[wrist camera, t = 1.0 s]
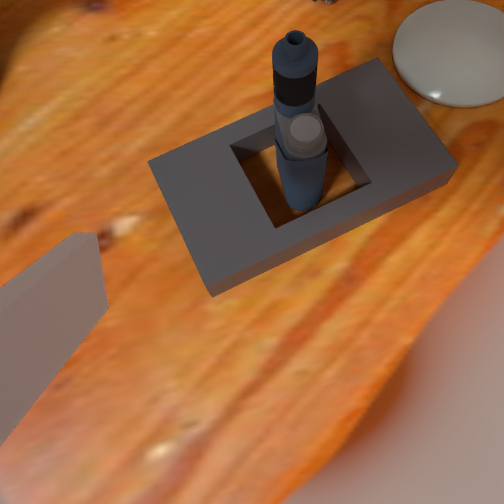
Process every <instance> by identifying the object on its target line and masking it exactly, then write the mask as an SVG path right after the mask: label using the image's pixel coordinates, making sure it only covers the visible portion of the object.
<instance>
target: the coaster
mask: <svg viewBox="0 0 504 504" xmlns="http://www.w3.org/2000/svg"><path fill="white" fill-rule="evenodd" d="M392 55H393V62H394V65H395V68H396V70H397V72H398V74H399V76H400V77H401V79H402V80H403V81H404V83H405V84H406V85H407V86H408V87H409V88H410V89H412V90H413V91H414V92H415V93H417V94H418V95H420V96H421V97H423V98H425V99H427V100H429V101H432V102H434V103H437V104H440V105H444V106H449V107H455V108H474V107H481V106H485V105H489V104H492V103H494V102H497V101H499V100H501V99H503V98H504V13H503V12H502V11H500V10H498V9H496V8H494V7H492V6H490V5H487V4H484V3H481V2H477V1H472V0H442V1H437V2H433V3H430V4H428V5H425V6H423V7H421V8H419V9H417V10H416V11H414V12H413V13H411V14H410V15H409V16H408V17H407V18H406V19H405V20H404V21H403V22H402V24H401V25H400V27H399V28H398V30H397V33H396V35H395V39H394V43H393V49H392Z"/></svg>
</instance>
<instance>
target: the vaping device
mask: <svg viewBox="0 0 504 504" xmlns="http://www.w3.org/2000/svg"><path fill="white" fill-rule="evenodd" d="M272 63H273V83H274V86H275V87H274V99H273V103H274V115H275V135H276V139H274V140H275V146H276V155H277V167H278V170H279V174H280V178H281V182H282V186H283V190H284V194H285V199H286V202H287V204H288V206H289V207H291V208H292V209H294V210H297V211H305V210H309V209H311V208H313V207H314V206H315V205H317V204H318V202H319V201H320V200H321V197H322V192H323V185H324V178H325V170H326V163H327V156H328V149H327V148H326V144H327V137H326V134H325V131H324V126H323V123H322V121H321V117H320V114H319V111H318V108H317V104H316V101H315V90H316V88H315V87H316V77H317V64H318V48H317V46H316V44H315V43H314V42H313V41H312V40H311V39H309V38H308V37H306V36H305V34H304V33H303V32H301V31H297V30H294V31H290V32H289V33H287V34H286V36H285V37H284V38H282V39H281V40H279V41H278V42H277V43H276V44H275V46H274V48H273V51H272ZM274 68H275V69H274Z"/></svg>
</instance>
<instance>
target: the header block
mask: <svg viewBox="0 0 504 504" xmlns="http://www.w3.org/2000/svg"><path fill="white" fill-rule="evenodd" d="M315 88H316V90H315V101H316V104H317V108H318V111H319V114H320V117H321V121H322V123H323V126H324V131H325V134H326V137H327V140H328V141H329V143H330V144H331V146H332V147H333V149H334V150H335V152H336V154H337V155H338V157H339V158H340V160H341V161H342V163H343V164H344V166H345V167H346V169H347V171H348V172H349V174H350V175H351V177H352V178H353V180H354V181H355V183H356V185H357V186H358V188H359V189H357V190H355V191H353V192H351V193H349V194H347V195H345V196H343V197H341V198H339V199H337V200H334V201H332V202H330V203H328V204H326V205H324V206H322V207H320V208H318V209H316V210H313V211H311V212H309V213H307V214H305V215H303V216H301V217H299V218H297V219H295V220H293V221H290V222H288V223H286V224H284V225H282V226H280V227H278V228H276V229H275V227H274V226H273V224H272V222H271V220H270V218H269V217H268V215H267V213H266V211H265V209H264V207H263V206H262V204H261V202H260V200H259V198H258V197H257V195H256V193H255V191H254V189H253V187H252V186H251V184H250V182H249V180H248V178H247V177H246V175H245V173H244V171H243V169H242V167H241V166H240V164H239V162H238V161H240V160H243V159H245V158H247V157H249V156H251V155H253V154H256V153H258V152H260V151H262V150H264V149H267V148H269V147H271V146H273V145H275V140H274V139H276V135H275V115H274V104H273V105H271V106H269V107H267V108H264V109H262V110H260V111H258V112H256V113H253V114H251V115H249V116H247V117H245V118H242V119H240V120H238V121H236V122H233V123H231V124H229V125H227V126H225V127H222V128H220V129H218V130H216V131H214V132H211V133H209V134H207V135H205V136H202V137H200V138H198V139H196V140H194V141H191V142H189V143H187V144H185V145H183V146H180V147H178V148H176V149H174V150H172V151H169V152H167V153H165V154H163V155H160V156H158V157H156V158H154V159H152V160H149V161H147V162H148V164H149V166H150V168H151V170H152V172H153V175H154V177H155V179H156V181H157V183H158V185H159V187H160V190H161V192H162V194H163V196H164V198H165V200H166V202H167V205H168V207H169V209H170V211H171V213H172V215H173V217H174V220H175V222H176V224H177V226H178V228H179V230H180V233H181V235H182V237H183V239H184V241H185V243H186V245H187V248H188V250H189V252H190V254H191V256H192V258H193V260H194V263H195V265H196V267H197V269H198V271H199V273H200V276H201V278H202V280H203V282H204V284H205V286H206V288H207V290H208V291H209V293H210V295H211V296H212V297H214V296H216V295H218V294H220V293H222V292H225V291H227V290H229V289H231V288H233V287H235V286H237V285H239V284H241V283H243V282H245V281H247V280H249V279H251V278H253V277H255V276H258V275H260V274H262V273H264V272H266V271H268V270H270V269H272V268H274V267H276V266H278V265H280V264H282V263H284V262H286V261H288V260H291V259H293V258H295V257H297V256H299V255H301V254H303V253H305V252H307V251H309V250H311V249H313V248H315V247H317V246H319V245H321V244H324V243H326V242H328V241H330V240H332V239H334V238H336V237H338V236H340V235H342V234H344V233H346V232H348V231H350V230H352V229H354V228H356V227H359V226H361V225H363V224H365V223H367V222H369V221H371V220H373V219H375V218H377V217H379V216H381V215H383V214H385V213H387V212H389V211H392V210H394V209H396V208H398V207H400V206H402V205H404V204H406V203H408V202H410V201H412V200H414V199H416V198H418V197H420V196H422V195H425V194H427V193H429V192H431V191H433V190H435V189H437V188H439V187H441V186H443V185H445V184H447V183H448V181H449V180H450V178H451V177H452V175H453V174H454V172H455V170H456V169H457V167H458V166H459V164H458V163H457V162H456V160H455V159H454V158H453V156H452V155H451V154H450V152H449V151H448V150H447V148H446V147H445V146H444V144H443V143H442V142H441V140H440V139H439V138H438V137H437V135H436V134H435V133H434V131H433V130H432V129H431V127H430V126H429V125H428V123H427V122H426V121H425V119H424V118H423V117H422V115H421V114H420V113H419V111H418V110H417V109H416V107H415V106H414V105H413V103H412V102H411V101H410V99H409V98H408V97H407V95H406V94H405V93H404V91H403V90H402V89H401V87H400V86H399V85H398V83H397V82H396V81H395V79H394V78H393V77H392V75H391V74H390V73H389V71H388V70H387V69H386V67H385V66H384V65H383V63H382V62H381V61H380V59H379V58H378V57H377V58H375V59H373V60H371V61H368V62H366V63H364V64H362V65H360V66H357V67H355V68H353V69H351V70H349V71H346V72H344V73H342V74H340V75H337V76H335V77H333V78H331V79H329V80H326V81H324V82H322V83H320V84H318V85H316V87H315Z"/></svg>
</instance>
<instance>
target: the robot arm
mask: <svg viewBox="0 0 504 504" xmlns="http://www.w3.org/2000/svg"><path fill="white" fill-rule="evenodd" d="M108 308H109V306H108V300H107V294H106V288H105V282H104V276H103V270H102V264H101V258H100V252H99V246H98V240H97V234H96V233H73V234H71V235H70V236H69V237H67V238H66V239H65V240H63V241H62V242H61V243H59V244H58V245H57V246H55V247H54V248H53V249H51V250H50V251H49V252H47V253H46V254H45V255H43V256H42V257H41V258H39V259H38V260H37V261H35V262H34V263H33V264H31V265H30V266H29V267H27V268H26V269H25V270H23V271H22V272H21V273H19V274H18V275H17V276H15V277H14V278H13V279H11V280H10V281H9V282H7V283H6V284H5V285H4V286H2V287H1V288H0V446H1V445H2V443H3V442H4V441H5V440H6V438H7V437H8V436H9V435H10V433H11V432H12V431H13V429H14V428H15V427H16V426H17V424H18V423H19V422H20V421H21V419H22V418H23V417H24V415H25V414H26V413H27V412H28V410H29V409H30V408H31V407H32V405H33V404H34V403H35V401H36V400H37V399H38V398H39V396H40V395H41V394H42V393H43V391H44V390H45V389H46V387H47V386H48V385H49V384H50V382H51V381H52V380H53V379H54V377H55V376H56V375H57V373H58V372H59V371H60V370H61V368H62V367H63V366H64V365H65V363H66V362H67V361H68V359H69V358H70V357H71V356H72V354H73V353H74V352H75V350H76V349H77V348H78V347H79V345H80V344H81V343H82V342H83V340H84V339H85V338H86V336H87V335H88V334H89V333H90V331H91V330H92V329H93V328H94V326H95V325H96V324H97V322H98V321H99V320H100V319H101V317H102V316H103V315H104V314H105V312H106V311H107V310H108Z"/></svg>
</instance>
